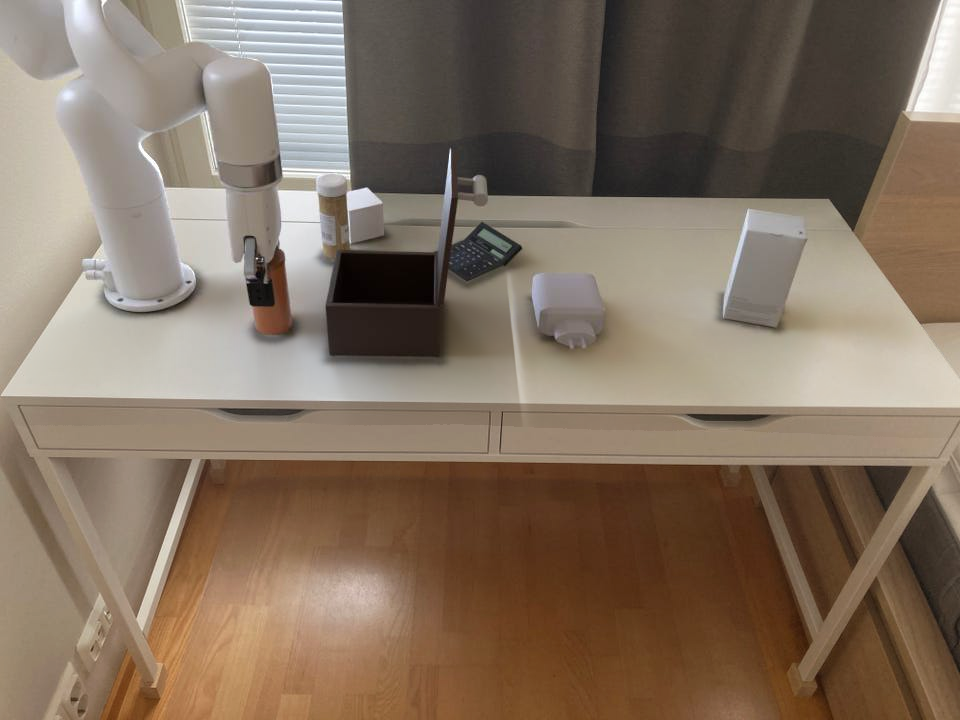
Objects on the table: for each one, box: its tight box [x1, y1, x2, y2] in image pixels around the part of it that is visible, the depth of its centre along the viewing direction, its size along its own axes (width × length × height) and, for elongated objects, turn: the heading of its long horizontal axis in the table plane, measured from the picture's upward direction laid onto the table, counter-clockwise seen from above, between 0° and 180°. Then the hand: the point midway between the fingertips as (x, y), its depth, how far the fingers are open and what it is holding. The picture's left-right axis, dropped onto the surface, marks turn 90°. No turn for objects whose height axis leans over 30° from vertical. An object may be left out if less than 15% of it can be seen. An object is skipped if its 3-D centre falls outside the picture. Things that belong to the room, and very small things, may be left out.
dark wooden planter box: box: [325, 249, 441, 358], centre depth 110 cm, size 15×14×9 cm
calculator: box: [434, 221, 523, 282], centre depth 127 cm, size 9×12×3 cm
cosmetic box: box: [722, 208, 809, 329], centre depth 115 cm, size 8×7×16 cm
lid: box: [437, 146, 489, 307], centre depth 102 cm, size 15×14×5 cm
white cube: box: [346, 187, 385, 245], centre depth 131 cm, size 6×6×6 cm
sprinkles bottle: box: [315, 172, 351, 260], centre depth 122 cm, size 5×5×13 cm
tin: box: [251, 247, 293, 336], centre depth 108 cm, size 5×5×12 cm
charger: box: [531, 272, 606, 350], centre depth 113 cm, size 5×9×15 cm
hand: (267, 288), depth 107 cm, fingers open, 6 cm apart
